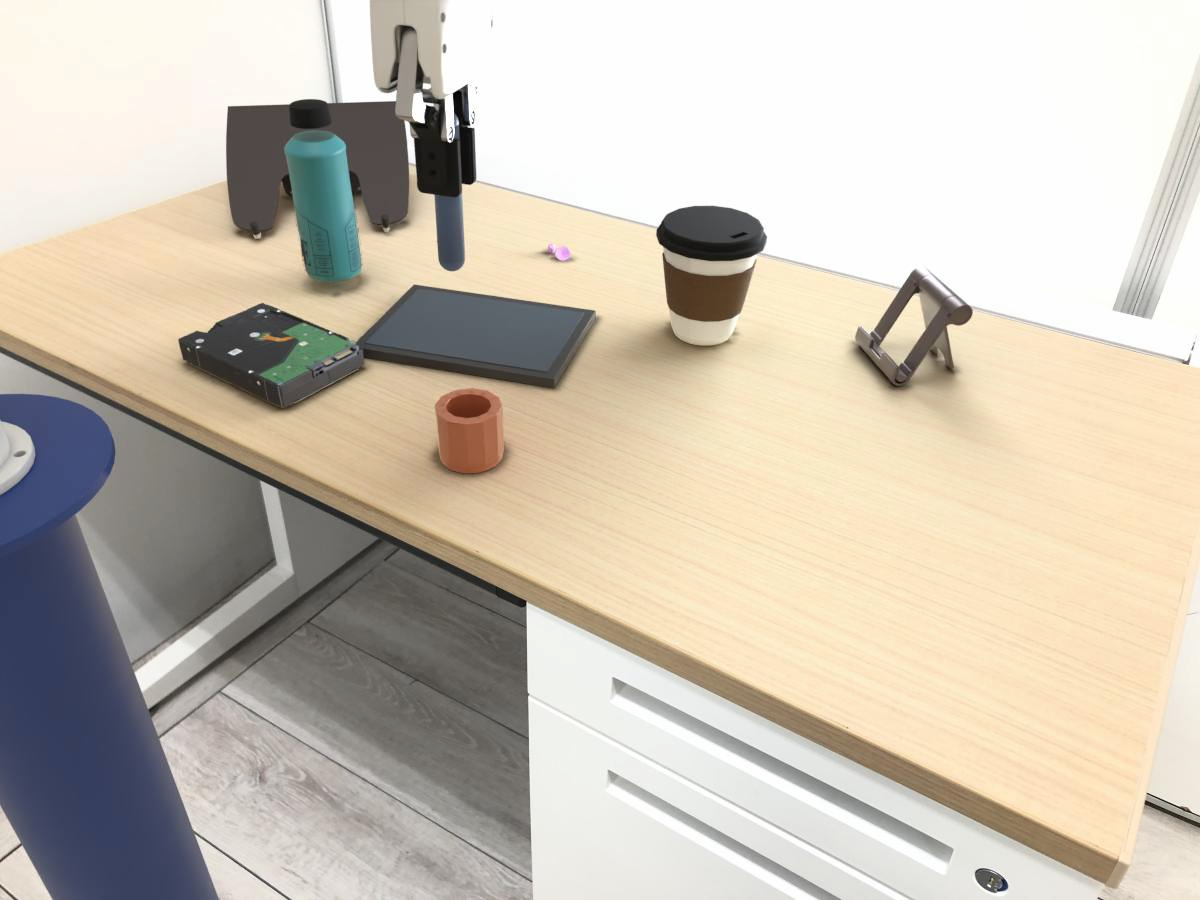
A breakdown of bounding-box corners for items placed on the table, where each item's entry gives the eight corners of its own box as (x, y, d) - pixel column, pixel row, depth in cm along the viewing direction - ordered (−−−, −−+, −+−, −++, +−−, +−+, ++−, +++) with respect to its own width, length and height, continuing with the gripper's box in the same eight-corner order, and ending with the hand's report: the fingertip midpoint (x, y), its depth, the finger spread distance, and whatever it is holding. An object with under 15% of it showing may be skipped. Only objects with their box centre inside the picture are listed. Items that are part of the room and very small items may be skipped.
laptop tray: (237, 276, 123) (221, 227, 115) (238, 145, 133) (223, 92, 125) (419, 265, 127) (415, 217, 119) (405, 139, 137) (401, 87, 129)
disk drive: (181, 365, 93) (284, 412, 86) (174, 339, 91) (279, 385, 85) (266, 325, 100) (368, 366, 93) (261, 300, 99) (364, 340, 92)
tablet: (554, 388, 91) (554, 378, 90) (352, 355, 95) (351, 346, 94) (595, 318, 103) (595, 309, 102) (414, 292, 107) (413, 283, 106)
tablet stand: (852, 343, 100) (867, 269, 95) (921, 338, 101) (939, 264, 96) (890, 387, 93) (908, 309, 88) (964, 380, 94) (986, 303, 89)
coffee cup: (775, 337, 100) (791, 228, 94) (700, 368, 95) (711, 255, 88) (703, 299, 107) (713, 195, 100) (629, 326, 102) (634, 218, 95)
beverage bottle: (376, 282, 109) (355, 101, 97) (327, 301, 105) (299, 114, 93) (342, 265, 112) (317, 89, 101) (293, 283, 108) (262, 101, 97)
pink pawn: (564, 268, 117) (573, 257, 117) (564, 263, 115) (573, 251, 115) (544, 255, 117) (553, 243, 117) (544, 250, 115) (552, 238, 116)
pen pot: (490, 478, 79) (487, 428, 76) (429, 467, 80) (424, 417, 77) (512, 442, 83) (510, 394, 80) (454, 432, 84) (450, 384, 82)
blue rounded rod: (459, 277, 72) (451, 114, 65) (434, 273, 72) (424, 110, 65) (469, 266, 73) (462, 106, 67) (445, 263, 74) (436, 103, 67)
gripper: (427, -119, 66) (442, 149, 76) (310, -99, 53) (348, 219, 64) (531, -112, 64) (532, 160, 75) (436, -89, 52) (453, 235, 62)
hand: (447, 185), depth 69 cm, fingers closed on blue rounded rod, 2 cm apart
